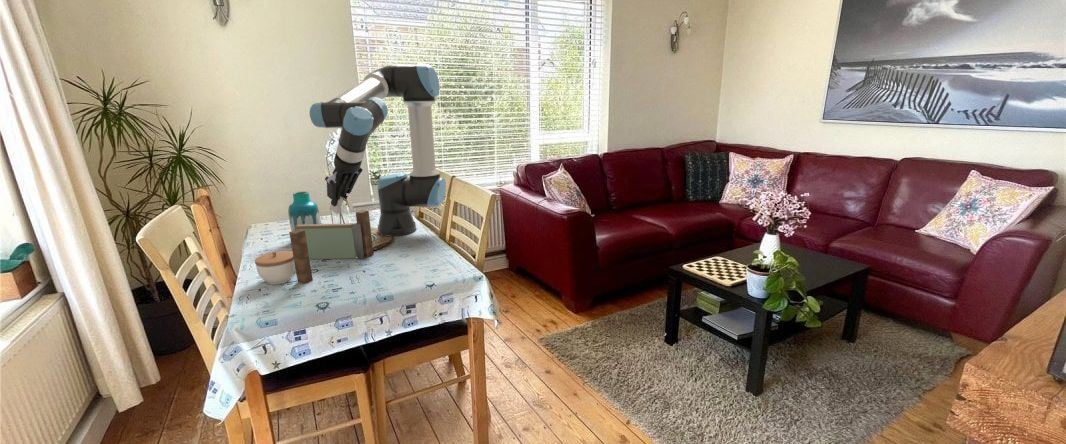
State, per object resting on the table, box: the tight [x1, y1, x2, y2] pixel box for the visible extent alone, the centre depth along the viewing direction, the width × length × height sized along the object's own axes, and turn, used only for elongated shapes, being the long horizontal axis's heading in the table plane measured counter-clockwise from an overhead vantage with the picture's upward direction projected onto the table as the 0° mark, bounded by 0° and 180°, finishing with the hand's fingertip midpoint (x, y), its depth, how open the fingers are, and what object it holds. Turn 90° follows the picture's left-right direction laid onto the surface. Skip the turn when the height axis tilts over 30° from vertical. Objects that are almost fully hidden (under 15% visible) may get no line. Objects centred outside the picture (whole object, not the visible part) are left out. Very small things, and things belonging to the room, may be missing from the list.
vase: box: [288, 190, 322, 232], centre depth 175 cm, size 11×11×19 cm
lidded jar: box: [254, 250, 296, 286], centre depth 140 cm, size 11×11×9 cm
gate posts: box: [288, 209, 375, 285], centre depth 149 cm, size 28×3×16 cm, turn 153°
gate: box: [295, 222, 365, 260], centre depth 157 cm, size 21×2×12 cm, turn 93°
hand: (334, 210), depth 151 cm, fingers closed
